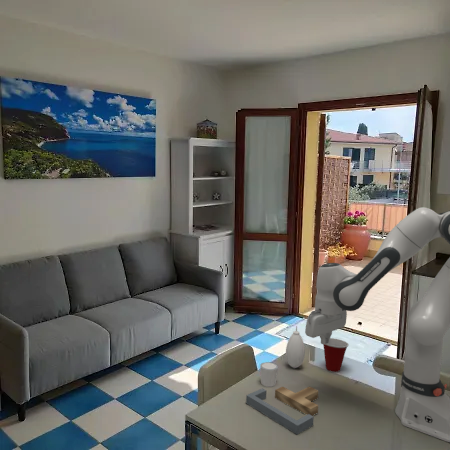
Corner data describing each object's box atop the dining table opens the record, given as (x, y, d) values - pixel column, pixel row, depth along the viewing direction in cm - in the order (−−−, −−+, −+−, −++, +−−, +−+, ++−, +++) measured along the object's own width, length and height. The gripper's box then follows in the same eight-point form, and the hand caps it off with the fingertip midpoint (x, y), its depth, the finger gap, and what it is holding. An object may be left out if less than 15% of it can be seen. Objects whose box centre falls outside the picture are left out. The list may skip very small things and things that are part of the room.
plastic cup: (351, 368, 181) (353, 341, 179) (339, 377, 172) (341, 348, 171) (327, 360, 188) (329, 334, 186) (315, 368, 180) (317, 341, 178)
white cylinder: (276, 388, 162) (277, 370, 161) (258, 386, 163) (259, 368, 162) (277, 380, 169) (278, 363, 168) (260, 377, 170) (261, 361, 169)
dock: (313, 425, 139) (313, 416, 138) (297, 434, 133) (297, 425, 133) (262, 396, 156) (262, 388, 156) (246, 403, 151) (246, 395, 150)
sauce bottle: (287, 361, 186) (289, 321, 183) (305, 365, 183) (307, 324, 181) (283, 369, 178) (285, 327, 176) (301, 372, 175) (304, 330, 173)
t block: (331, 405, 151) (332, 397, 151) (310, 417, 143) (310, 409, 143) (296, 387, 163) (296, 380, 163) (274, 397, 155) (275, 389, 155)
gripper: (316, 314, 147) (314, 353, 149) (350, 304, 161) (347, 339, 162) (302, 309, 152) (299, 347, 154) (336, 300, 165) (333, 334, 167)
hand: (324, 343), depth 158 cm, fingers closed
